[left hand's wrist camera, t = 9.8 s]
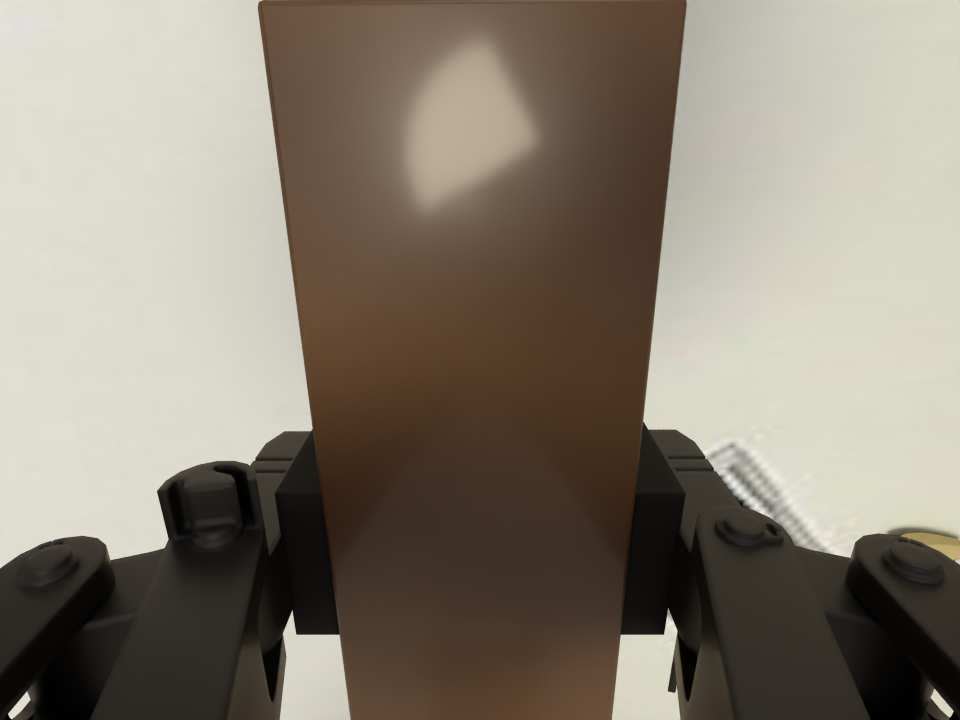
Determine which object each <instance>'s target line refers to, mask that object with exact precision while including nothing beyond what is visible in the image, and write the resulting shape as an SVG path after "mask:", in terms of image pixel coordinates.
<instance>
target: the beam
mask: <svg viewBox="0 0 960 720" xmlns="http://www.w3.org/2000/svg"><path fill="white" fill-rule="evenodd" d="M686 8H687V2H686V0H263V1H261V2H259V5H258V13H259V21H260V28H261V36H262V44H263V51H264V59H265V67H266V74H267V82H268V90H269V97H270V105H271V113H272V120H273V128H274V136H275V143H276V151H277V159H278V166H279V174H280V181H281V189H282V197H283V204H284V212H285V220H286V227H287V235H288V243H289V250H290V258H291V266H292V273H293V281H294V289H295V296H296V304H297V312H298V319H299V327H300V335H301V342H302V350H303V358H304V365H305V373H306V381H307V388H308V396H309V404H310V411H311V419H312V427H313V434H314V442H315V450H316V457H317V465H318V473H319V480H320V488H321V496H322V503H323V511H324V519H325V526H326V534H327V542H328V549H329V557H330V565H331V572H332V580H333V587H334V595H335V603H336V610H337V618H338V626H339V633H340V641H341V649H342V656H343V664H344V672H345V679H346V687H347V695H348V702H349V710H350V718H351V720H612V712H613V702H614V693H615V683H616V674H617V664H618V655H619V645H620V636H621V626H622V617H623V607H624V598H625V588H626V579H627V569H628V560H629V550H630V541H631V531H632V522H633V512H634V503H635V493H636V484H637V474H638V464H639V455H640V445H641V436H642V426H643V417H644V407H645V398H646V388H647V379H648V369H649V360H650V350H651V341H652V331H653V322H654V312H655V303H656V293H657V284H658V274H659V265H660V255H661V246H662V236H663V227H664V217H665V208H666V198H667V189H668V179H669V170H670V160H671V150H672V141H673V131H674V122H675V112H676V103H677V93H678V84H679V74H680V65H681V55H682V46H683V36H684V27H685V17H686Z"/></svg>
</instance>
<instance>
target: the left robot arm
mask: <svg viewBox="0 0 960 720" xmlns="http://www.w3.org/2000/svg"><path fill="white" fill-rule="evenodd" d="M157 493H158V497H159V501H160V505H161V509H162V513H163V518H164V522H165V526H166V530H167V534H168V538H169V540H168V542H167V544H166V547H165V548H164V549H160V550H157V551H153V552H149V553H144V554H139V555H134V556H129V557H124V558H119V559H115V560H110V557H109V554H108V550H107V547H106V545H105V544H104V543H103V542H102V541H100V540H99V539H98V538H93V537H86V536H78V537H68V538H61V539H57V540H54V541H52V542H51V541H49V542H46V543H43V544H41V545H38V546H37V547H35V548H33V549H31V550H29V551H27V552H24V553H22V554H20V555H19V556H17V557H16V558H14V559H13V560H12V561H10V562H9V563H7V564H6V565H4V566H3V567H2V568H1V569H0V720H280V710H281V701H282V692H283V682H284V673H285V664H286V651H285V644H284V638H283V632H284V629H285V627H286V624H287V622H288V619H289V617H290V614H291V612H292V609H293V616H294V622H295V629H296V635H340V633H339V626H338V618H337V610H336V603H335V595H334V587H333V580H332V572H331V565H330V557H329V549H328V542H327V534H326V526H325V519H324V511H323V503H322V496H321V488H320V480H319V473H318V465H317V457H316V450H315V442H314V434H313V429H312V431H285V432H283V433H282V434H280V435H279V436H277V437H276V438H274V439H272V440H271V441H269V442H268V443H266V444H265V446H264V447H263V449H262V450H261V451H260V453H259V454H258V455H257V457H256V460H255V461H253V462H252V464H251V465H250V466H249V465H248V464H245V463H240V462H236V461H216V462H211V463H206V464H201V465H197V466H194V467H192V468H189V469H187V470H184V471H181V472H179V473H178V474H176V475H175V476H173V477H171V478H170V479H168V480H167V481H165V483H164V484H163V485H162V486H161V487H160V488H159V489H158V491H157ZM668 608H669V611H670V613H671V616H672V618H673V620H674V623H675V625H676V628H677V630H678V632H677V638H676V644H675V650H674V656H673V662H672V668H671V674H670V680H669V687H668V691H669V692H674V693H675V691H676V686H677V690H678V700H679V709H680V718H681V720H960V565H959V564H958V563H956V562H955V561H953V560H952V559H951V558H949V557H948V556H946V555H945V554H943V553H942V552H940V551H938V550H936V549H934V548H931V547H929V546H927V545H925V544H924V543H922V542H919V541H916V540H913V539H908V538H906V537H902V536H897V535H887V534H872V535H866V536H863V537H862V538H860V539H859V540H858V541H857V542H855V545H854V549H853V552H852V555H851V558H848V557H843V556H838V555H833V554H828V553H823V552H819V551H814V550H809V549H805V548H802V547H798V546H794V543H793V541H792V539H791V537H790V536H789V535H788V533H787V532H786V531H785V529H784V528H783V527H782V526H781V525H779V524H778V523H776V522H775V521H774V520H772V519H771V518H769V517H767V516H765V515H763V514H761V513H758V512H756V511H754V510H751V509H746V508H742V507H741V505H740V504H739V503H738V501H737V500H736V498H735V497H734V496H733V494H732V493H731V491H730V490H729V489H728V487H727V486H726V485H725V483H724V482H723V480H722V479H721V478H720V476H719V475H718V473H717V472H716V471H714V468H713V467H712V465H711V464H710V462H709V461H708V460H707V459H705V456H704V454H703V453H702V451H701V450H700V449H699V447H698V446H697V444H696V443H695V442H694V441H692V440H691V439H689V438H688V437H686V436H685V435H683V434H682V433H680V432H679V431H677V430H648V429H647V427H646V425H645V423H644V422H643V426H642V436H641V445H640V455H639V464H638V474H637V484H636V493H635V503H634V512H633V522H632V531H631V541H630V550H629V560H628V569H627V579H626V588H625V598H624V607H623V617H622V626H621V635H664V631H665V624H666V618H667V612H668ZM934 688H935V689H936V691H937V692H938V693H939V694H940V695H941V697H942V698H943V699H944V700H945V701H946V702H947V704H948V705H949V706H950V707H951V708H952V710H953V711H954V712H953V714H952V716H951V717H950V718H949V717H948V716H947V715H946V714H944V713H943V712H942V711H941V710H940V709H939V707H938V706H937V705H936V704H935V703H934V701H933V700H932V699H931V696H932V693H933V691H934ZM26 692H28V694H29V697H30V699H31V700H30V701H29V703H28V704H27V705H26V706H25V708H24V709H23V710H22V711H21V712H20V713H19V714H18V715H17V716H15V717H14V718H13V719H10V718H9V715H8V713H9V712H10V711H11V709H12V708H13V707H14V706H15V705H16V704H17V702H18V701H19V700H20V699H21V698H22V696H23V695H24V694H25V693H26Z"/></svg>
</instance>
